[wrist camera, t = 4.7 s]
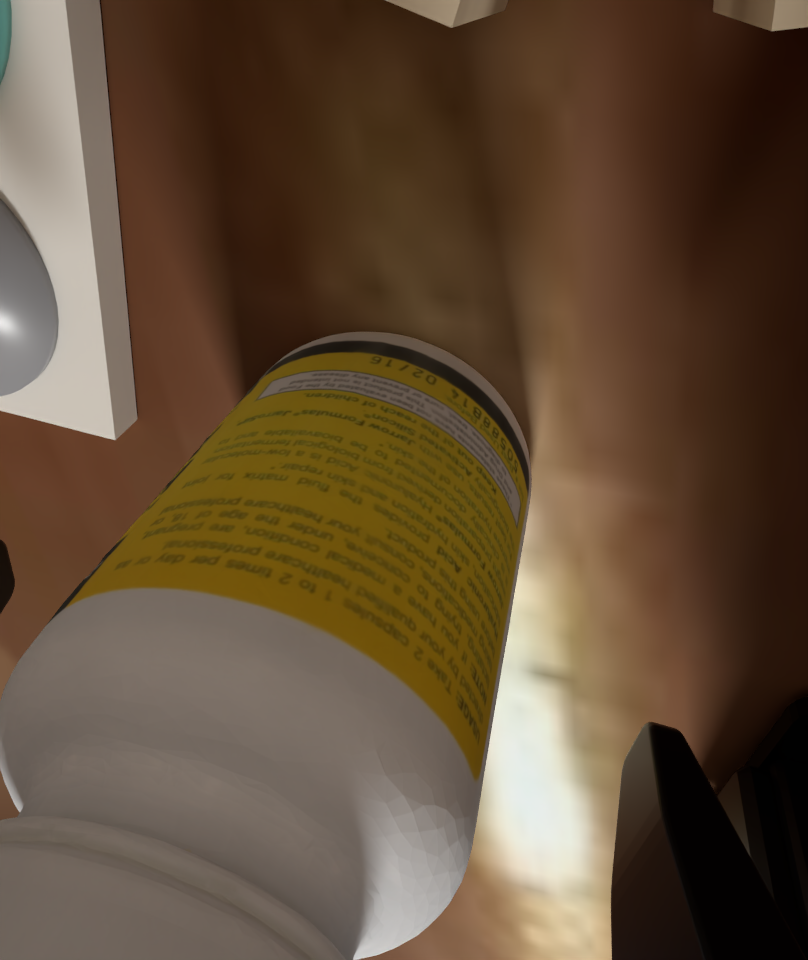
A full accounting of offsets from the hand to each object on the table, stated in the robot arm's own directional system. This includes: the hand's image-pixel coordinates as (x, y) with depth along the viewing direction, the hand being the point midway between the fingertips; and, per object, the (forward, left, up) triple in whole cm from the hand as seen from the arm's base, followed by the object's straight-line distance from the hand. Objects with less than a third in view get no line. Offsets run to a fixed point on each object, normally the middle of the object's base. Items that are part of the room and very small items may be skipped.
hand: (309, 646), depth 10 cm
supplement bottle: (0, 0, -5) cm, 5 cm away
